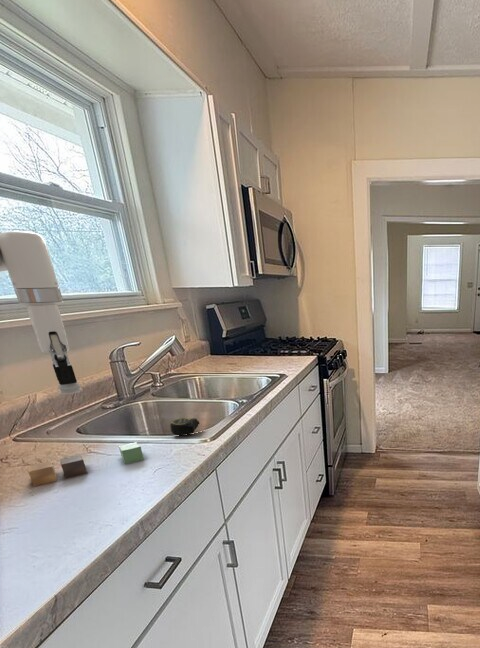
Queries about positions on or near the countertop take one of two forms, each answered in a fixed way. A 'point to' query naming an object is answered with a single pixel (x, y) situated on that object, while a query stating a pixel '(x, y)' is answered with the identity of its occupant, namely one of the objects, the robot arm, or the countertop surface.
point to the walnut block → (73, 466)
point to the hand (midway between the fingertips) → (67, 381)
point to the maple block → (42, 473)
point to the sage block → (131, 452)
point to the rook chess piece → (69, 388)
